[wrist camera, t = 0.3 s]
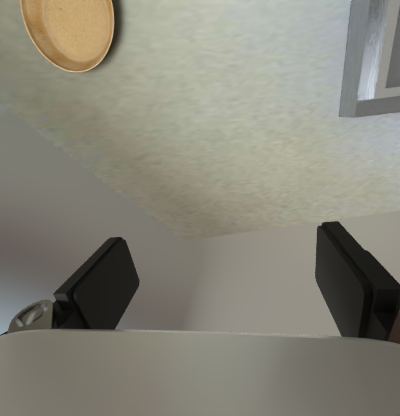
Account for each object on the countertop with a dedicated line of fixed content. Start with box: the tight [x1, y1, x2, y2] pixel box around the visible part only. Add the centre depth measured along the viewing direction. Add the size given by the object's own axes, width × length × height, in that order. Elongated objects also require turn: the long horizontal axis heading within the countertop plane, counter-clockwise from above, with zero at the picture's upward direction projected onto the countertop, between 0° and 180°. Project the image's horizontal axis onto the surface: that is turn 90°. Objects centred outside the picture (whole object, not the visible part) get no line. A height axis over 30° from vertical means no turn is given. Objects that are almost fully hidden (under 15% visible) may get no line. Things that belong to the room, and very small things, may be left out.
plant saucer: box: [20, 0, 114, 72], centre depth 33 cm, size 15×15×3 cm
